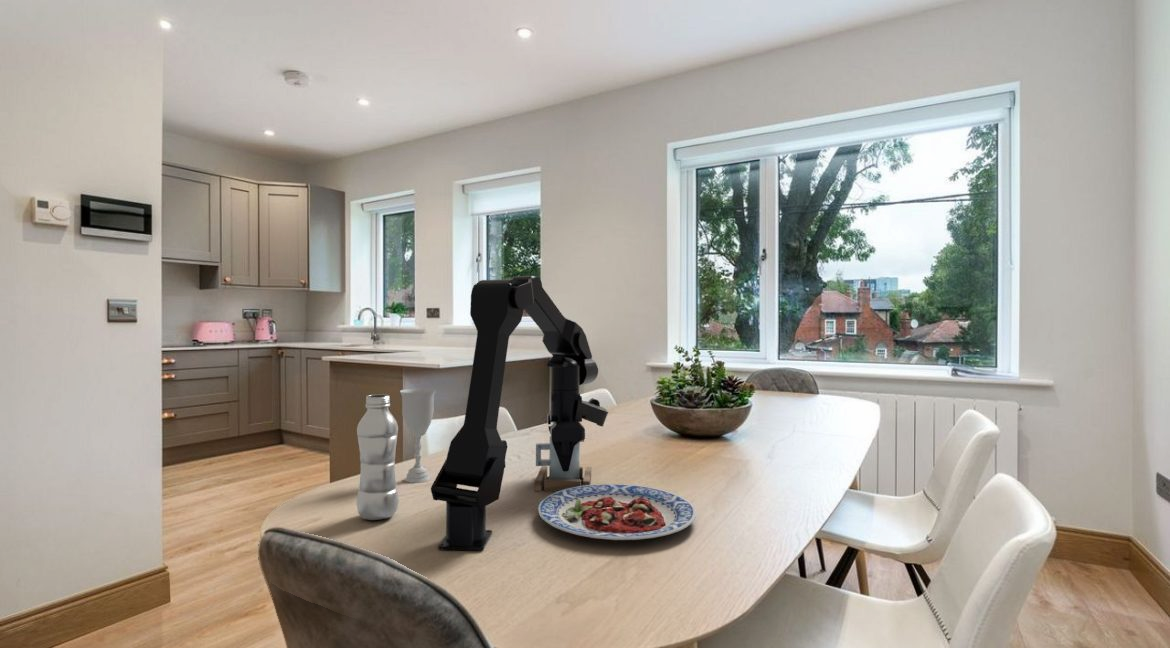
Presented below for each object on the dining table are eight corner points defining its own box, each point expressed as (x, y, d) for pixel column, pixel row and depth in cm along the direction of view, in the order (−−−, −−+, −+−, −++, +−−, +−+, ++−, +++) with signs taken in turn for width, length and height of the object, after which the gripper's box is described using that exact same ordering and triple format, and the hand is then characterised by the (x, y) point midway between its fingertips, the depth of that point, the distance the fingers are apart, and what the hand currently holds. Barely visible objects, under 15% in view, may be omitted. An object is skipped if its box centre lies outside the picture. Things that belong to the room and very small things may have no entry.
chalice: (392, 482, 112) (392, 392, 112) (412, 473, 118) (412, 388, 118) (424, 485, 110) (424, 393, 109) (442, 476, 116) (443, 389, 116)
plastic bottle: (371, 528, 87) (372, 400, 87) (348, 518, 91) (348, 396, 91) (407, 516, 92) (407, 395, 92) (383, 508, 97) (383, 392, 96)
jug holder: (589, 492, 106) (589, 481, 106) (534, 490, 107) (534, 480, 107) (591, 476, 117) (591, 467, 117) (541, 475, 117) (541, 466, 117)
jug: (584, 486, 109) (585, 440, 109) (535, 487, 108) (536, 440, 108) (581, 477, 115) (582, 433, 115) (535, 478, 114) (535, 434, 114)
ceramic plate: (701, 503, 101) (701, 486, 101) (688, 562, 76) (688, 541, 76) (565, 490, 108) (565, 474, 108) (513, 541, 83) (513, 521, 83)
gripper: (612, 394, 103) (611, 479, 103) (598, 383, 122) (598, 454, 122) (551, 395, 102) (551, 480, 102) (547, 383, 120) (547, 455, 120)
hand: (564, 466), depth 112 cm, fingers closed on jug, 6 cm apart
